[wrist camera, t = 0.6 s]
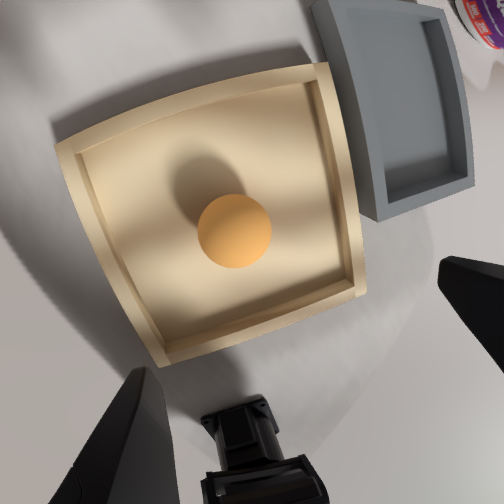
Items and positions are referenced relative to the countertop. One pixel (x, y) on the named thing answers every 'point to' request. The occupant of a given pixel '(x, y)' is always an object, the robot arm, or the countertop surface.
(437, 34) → the tray
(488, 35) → the pill bottle
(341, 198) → the dish
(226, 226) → the ball
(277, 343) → the countertop surface
